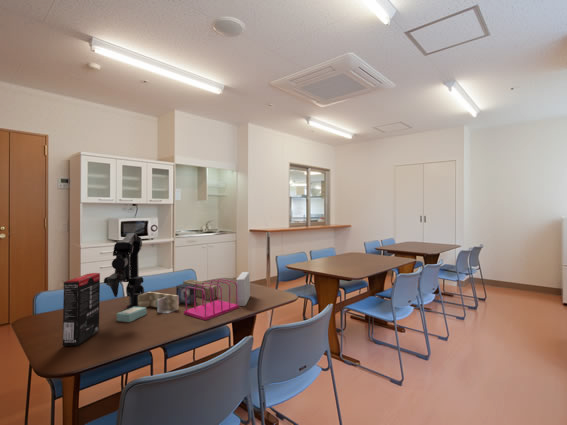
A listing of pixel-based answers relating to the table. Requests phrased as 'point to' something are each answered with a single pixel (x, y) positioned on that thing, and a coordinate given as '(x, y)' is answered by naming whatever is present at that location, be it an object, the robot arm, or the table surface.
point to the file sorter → (213, 307)
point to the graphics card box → (81, 308)
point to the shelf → (152, 298)
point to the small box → (190, 292)
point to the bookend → (163, 306)
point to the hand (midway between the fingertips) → (123, 297)
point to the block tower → (206, 289)
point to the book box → (131, 314)
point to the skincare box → (243, 288)
